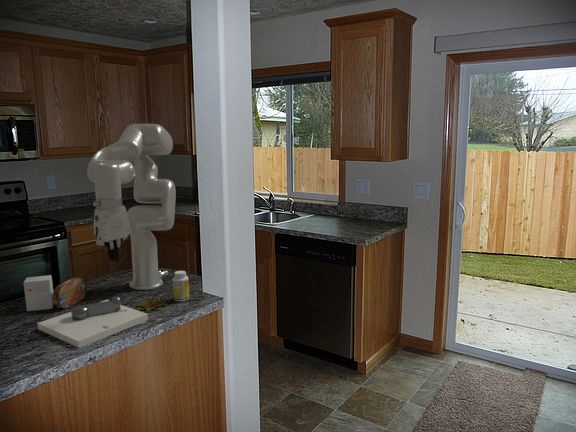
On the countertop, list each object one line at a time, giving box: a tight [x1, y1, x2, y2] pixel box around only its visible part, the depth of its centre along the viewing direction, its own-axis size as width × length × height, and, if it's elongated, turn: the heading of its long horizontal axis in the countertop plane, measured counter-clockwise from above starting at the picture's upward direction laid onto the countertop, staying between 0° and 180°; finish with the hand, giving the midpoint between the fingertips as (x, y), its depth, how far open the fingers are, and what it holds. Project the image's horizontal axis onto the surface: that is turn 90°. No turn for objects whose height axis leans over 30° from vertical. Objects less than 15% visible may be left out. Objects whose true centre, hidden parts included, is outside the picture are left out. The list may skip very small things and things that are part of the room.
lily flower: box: [135, 293, 168, 313], centre depth 164 cm, size 12×12×5 cm
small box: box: [23, 274, 55, 312], centre depth 162 cm, size 8×6×10 cm
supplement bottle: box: [172, 270, 190, 302], centre depth 169 cm, size 6×6×10 cm
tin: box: [53, 277, 87, 309], centre depth 166 cm, size 15×3×8 cm, turn 168°
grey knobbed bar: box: [70, 296, 121, 320], centre depth 151 cm, size 15×5×4 cm, turn 121°
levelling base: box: [37, 299, 149, 349], centre depth 148 cm, size 24×22×4 cm
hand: (113, 259), depth 150 cm, fingers closed
